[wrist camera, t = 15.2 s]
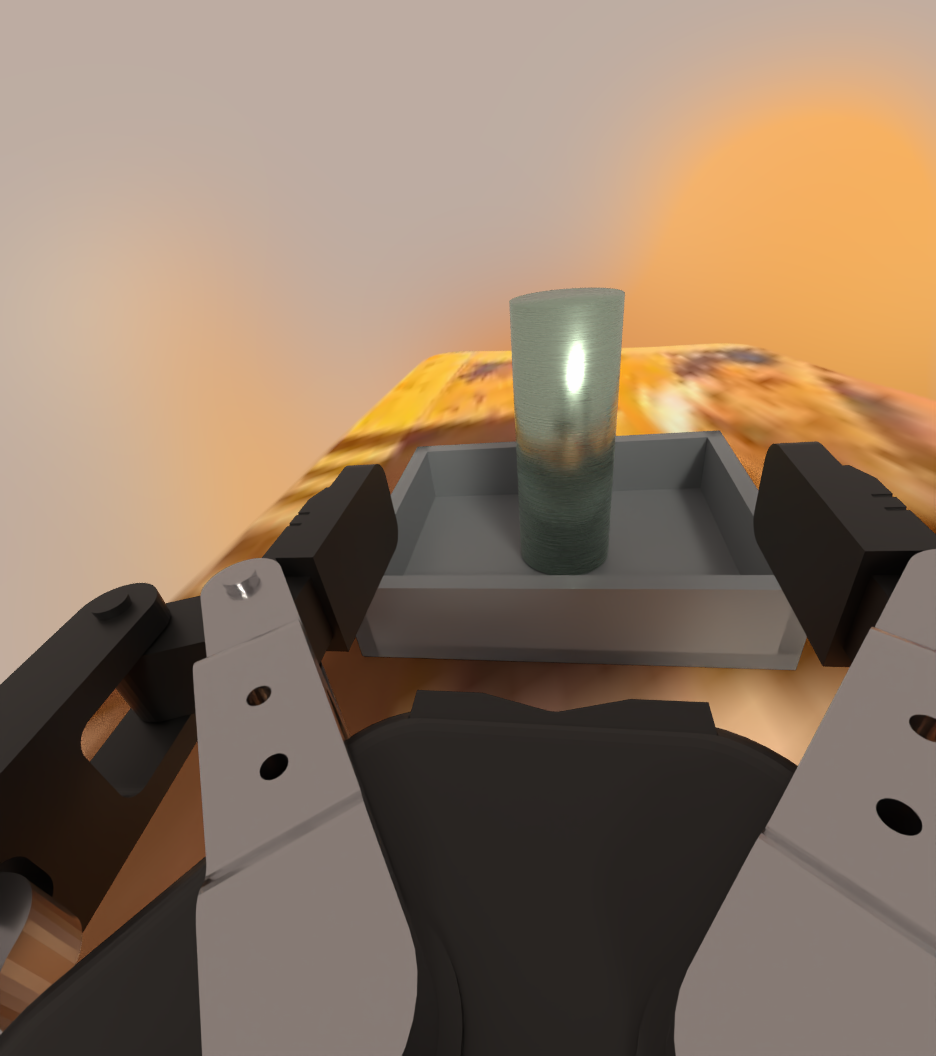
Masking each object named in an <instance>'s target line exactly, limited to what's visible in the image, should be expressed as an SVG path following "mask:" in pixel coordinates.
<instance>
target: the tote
mask: <svg viewBox="0 0 936 1056" xmlns="http://www.w3.org/2000/svg"><path fill="white" fill-rule="evenodd" d="M757 496H758V489H757V488H756V486H755V485H754V483H753V481H752V480H751V478H750V477H749V475H748V474H747V472H746V471H745V469H744V468H743V466H742V464H741V463H740V461H739V460H738V458H737V457H736V455H735V454H734V452H733V450H732V449H731V447H730V446H729V444H728V443H727V441H726V440H725V438H724V437H723V435H722V433H721V432H720V431H703V432H685V433H666V434H648V435H629V436H616V438H615V453H614V469H613V484H612V500H611V515H610V531H609V547H608V556H607V559H606V560H605V562H604V563H603V564H602V565H601V566H599V567H598V568H596V569H595V570H593V571H590V572H588V573H584V574H580V575H551V574H547V573H543V572H541V571H538V570H536V569H534V568H532V567H531V566H529V565H528V564H527V563H526V562H525V560H524V559H523V557H522V554H521V539H520V517H519V496H518V474H517V453H516V442H499V443H481V444H462V445H444V446H425V447H417V449H416V451H415V453H414V454H413V456H412V458H411V460H410V462H409V463H408V465H407V467H406V469H405V471H404V472H403V474H402V476H401V478H400V480H399V481H398V483H397V485H396V487H395V489H394V490H393V492H392V494H391V499H392V503H393V507H394V511H395V515H396V519H397V524H398V543H397V547H396V550H395V552H394V554H393V556H392V558H391V560H390V563H389V565H388V567H387V569H386V571H385V573H384V576H383V578H382V580H381V582H380V584H379V587H378V589H377V591H376V593H375V595H374V597H373V600H372V602H371V604H370V606H369V608H368V610H367V613H366V615H365V617H364V619H363V621H362V623H361V626H360V628H359V630H358V632H357V634H356V638H357V641H358V644H359V647H360V650H361V653H362V655H363V656H375V657H406V658H437V659H468V660H499V661H530V662H561V663H592V664H623V665H654V666H685V667H716V668H747V669H778V670H796V668H797V665H798V662H799V659H800V656H801V653H802V650H803V647H804V644H805V641H806V638H807V636H806V634H805V632H804V630H803V628H802V626H801V625H800V623H799V621H798V619H797V617H796V615H795V613H794V611H793V610H792V608H791V606H790V604H789V602H788V600H787V598H786V597H785V595H784V593H783V591H782V589H781V587H780V585H779V583H778V582H777V580H776V578H775V576H774V574H773V572H772V570H771V569H770V567H769V565H768V563H767V561H766V559H765V557H764V555H763V554H762V552H761V550H760V548H759V546H758V544H757V542H756V539H755V535H754V528H753V518H754V510H755V506H756V501H757Z"/></svg>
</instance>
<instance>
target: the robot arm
mask: <svg viewBox="0 0 936 1056" xmlns="http://www.w3.org/2000/svg"><path fill="white" fill-rule="evenodd" d="M298 514H299V515H296V516H295V517H294V519H293V520H292V521H291V522H290V526H287V527H286V529H285V530H284V531H283V532H282V534H281V535H280V536H279V537H278V538H277V540H276V541H275V542H274V543H273V545H272V546H271V547H270V548H269V550H268V551H267V552H266V553H265V555H264V556H263V557H262V558H255V559H249V560H245V561H242V562H239V563H236V564H234V565H231V566H229V567H227V568H225V569H223V570H222V571H220V572H219V573H217V574H216V575H215V576H213V577H212V578H211V579H210V580H209V581H208V582H207V583H206V584H205V586H204V587H203V589H202V592H201V596H197V597H193V598H188V599H184V600H179V601H175V602H170V603H166V604H165V602H164V600H163V599H162V597H161V596H160V594H159V592H158V591H157V589H156V588H155V587H154V586H153V585H151V584H147V583H135V584H130V585H126V586H122V587H119V588H116V589H113V590H111V591H109V592H106V593H104V594H102V595H101V596H99V597H97V598H95V599H94V600H92V601H91V602H89V603H88V604H86V605H85V606H84V607H83V608H82V609H80V610H79V611H78V612H77V613H76V614H75V615H74V616H73V617H72V618H71V619H70V620H69V621H68V622H66V623H65V624H64V625H63V626H62V627H61V628H60V629H59V630H58V631H57V632H56V633H55V634H54V635H53V636H52V637H51V638H49V639H48V640H47V641H46V642H45V643H44V644H43V645H42V646H41V647H40V648H39V649H38V650H37V651H36V652H35V653H34V654H33V655H31V656H30V657H29V658H28V659H27V660H26V661H25V662H24V663H23V664H22V665H21V666H20V667H19V668H18V669H17V670H16V671H14V673H12V674H11V675H10V676H9V677H8V678H7V679H6V680H5V681H4V682H3V683H2V684H1V685H0V1056H936V534H935V533H934V532H933V531H931V530H930V529H929V528H928V527H927V526H926V525H925V524H924V523H923V522H922V521H921V520H920V519H919V518H918V517H917V516H916V515H915V514H914V513H912V512H911V511H910V510H906V506H905V505H904V504H903V503H902V502H901V501H900V500H899V499H898V498H897V497H892V493H891V492H890V491H889V490H888V489H887V488H886V487H885V486H884V485H883V484H882V483H881V482H880V481H879V480H878V479H876V478H875V477H873V476H871V475H869V474H866V473H864V472H862V471H860V470H858V469H856V468H854V467H852V466H850V465H844V466H842V465H841V464H840V463H839V462H838V461H837V460H836V459H835V458H834V457H833V456H832V455H831V454H830V452H829V451H828V450H827V449H826V448H825V447H824V446H823V445H822V444H820V443H819V442H799V443H780V444H772V445H771V446H770V447H769V449H768V451H767V454H766V457H765V462H764V467H763V472H762V477H761V481H760V486H759V491H758V496H757V501H756V506H755V510H754V518H753V528H754V535H755V539H756V542H757V544H758V546H759V548H760V550H761V552H762V554H763V555H764V557H765V559H766V561H767V563H768V565H769V567H770V569H771V570H772V572H773V574H774V576H775V578H776V580H777V582H778V583H779V585H780V587H781V589H782V591H783V593H784V595H785V597H786V598H787V600H788V602H789V604H790V606H791V608H792V610H793V611H794V613H795V615H796V617H797V619H798V621H799V623H800V625H801V626H802V628H803V630H804V632H805V634H806V636H807V638H808V639H809V641H810V643H811V645H812V647H813V649H814V651H815V653H816V654H817V656H818V658H819V660H820V662H821V664H822V666H829V667H850V668H849V670H848V672H847V674H846V676H845V678H844V680H843V682H842V683H841V685H840V687H839V689H838V691H837V693H836V695H835V697H834V699H833V701H832V702H831V704H830V706H829V708H828V710H827V712H826V714H825V716H824V718H823V720H822V722H821V723H820V725H819V727H818V729H817V731H816V733H815V735H814V737H813V739H812V741H811V743H810V744H809V746H808V748H807V750H806V752H805V754H804V756H803V758H802V760H801V762H800V763H799V765H798V766H797V765H795V764H794V763H793V762H791V761H790V760H788V759H787V758H785V757H783V756H781V755H780V754H778V753H776V752H774V751H773V750H771V749H769V748H767V747H765V746H763V745H761V744H759V743H757V742H755V741H753V740H750V739H748V738H746V737H743V736H741V735H738V734H735V733H732V732H730V731H727V730H723V729H720V728H716V727H715V724H714V721H713V717H712V713H711V710H710V706H709V703H708V702H685V701H662V700H639V699H628V700H623V701H617V702H611V703H606V704H600V705H594V706H589V707H583V708H577V709H572V710H566V711H559V712H552V711H547V710H543V709H539V708H536V707H532V706H528V705H525V704H521V703H518V702H514V701H510V700H507V699H503V698H500V697H496V696H492V695H489V694H485V693H475V692H452V691H429V690H417V693H416V696H415V700H414V703H413V706H412V710H411V712H408V713H403V714H400V715H396V716H393V717H390V718H387V719H384V720H382V721H380V722H377V723H375V724H372V725H371V726H369V727H367V728H365V729H363V730H361V731H359V732H358V733H356V734H355V735H353V736H352V737H350V734H349V732H348V729H347V726H346V724H345V721H344V719H343V716H342V713H341V711H340V708H339V705H338V703H337V700H336V698H335V695H334V692H333V690H332V687H331V685H330V682H329V679H328V677H327V674H326V672H325V669H324V667H323V664H322V662H321V660H322V658H323V656H324V654H325V652H326V651H346V652H349V650H350V647H351V645H352V643H353V641H354V639H355V637H356V634H357V632H358V630H359V628H360V626H361V623H362V621H363V619H364V617H365V615H366V613H367V610H368V608H369V606H370V604H371V602H372V600H373V597H374V595H375V593H376V591H377V589H378V587H379V584H380V582H381V580H382V578H383V576H384V573H385V571H386V569H387V567H388V565H389V563H390V560H391V558H392V556H393V554H394V552H395V550H396V547H397V543H398V524H397V519H396V515H395V511H394V507H393V503H392V499H391V495H390V491H389V487H388V484H387V480H386V476H385V472H384V470H383V468H382V467H381V466H380V465H379V464H373V465H354V466H346V467H345V468H344V469H343V471H342V472H341V473H340V474H339V476H338V477H337V478H336V480H335V481H334V482H333V484H332V485H331V486H330V487H329V488H325V489H324V490H322V491H321V492H319V493H318V494H316V495H315V496H313V497H312V498H310V499H309V500H308V501H307V503H306V504H305V505H304V506H303V507H302V509H301V510H300V511H299V512H298ZM115 688H116V689H117V690H118V692H119V693H120V694H121V696H122V697H123V698H124V699H125V701H126V702H127V703H128V704H129V706H130V707H131V709H130V710H129V711H128V713H127V714H126V715H125V717H124V718H123V719H122V721H121V722H120V723H119V724H118V726H117V727H116V728H115V730H114V731H113V732H112V734H111V735H110V736H109V738H108V739H107V740H106V742H105V743H104V744H103V745H102V747H101V748H100V749H99V751H98V752H97V753H96V755H95V756H94V757H93V759H92V760H91V761H90V762H89V761H88V760H87V759H86V758H85V756H84V755H83V753H82V750H81V736H82V732H83V730H84V728H85V726H86V724H87V722H88V721H89V720H90V718H91V717H92V716H93V715H94V714H95V712H96V711H97V710H98V709H99V707H100V706H101V705H102V704H103V703H104V701H105V700H106V699H107V698H108V697H109V695H110V694H111V693H112V692H113V690H114V689H115ZM197 740H198V752H199V766H200V780H201V794H202V808H203V822H204V836H205V850H206V857H204V858H203V859H202V860H201V861H200V862H198V863H197V864H196V865H195V866H194V867H192V868H191V869H190V870H189V871H188V872H186V873H185V874H184V875H183V876H182V877H180V878H179V879H178V880H177V881H176V882H174V883H173V884H172V885H171V886H170V887H168V888H167V889H166V890H165V891H164V892H162V893H161V894H160V895H159V896H158V897H156V898H155V899H154V900H153V901H152V902H150V903H149V904H148V905H147V906H146V907H144V908H143V909H142V910H141V911H140V912H138V913H137V914H136V915H135V916H134V917H132V918H131V919H130V920H129V921H128V922H126V923H125V924H124V925H123V926H122V927H120V928H119V929H118V930H117V931H116V932H114V933H113V934H112V935H111V936H110V937H108V938H107V939H106V940H105V941H104V942H102V943H101V944H100V945H99V946H98V947H96V948H95V949H94V950H93V951H92V952H90V953H89V954H88V955H87V956H86V957H84V958H83V959H82V960H81V961H80V962H78V963H77V964H76V962H77V959H78V956H79V953H80V949H81V944H82V933H83V931H84V930H85V928H86V926H87V925H88V923H89V921H90V920H91V918H92V916H93V915H94V913H95V911H96V910H97V908H98V906H99V905H100V903H101V901H102V900H103V898H104V896H105V895H106V893H107V891H108V890H109V888H110V886H111V885H112V883H113V881H114V879H115V878H116V876H117V874H118V873H119V871H120V869H121V868H122V866H123V864H124V863H125V861H126V859H127V858H128V856H129V854H130V853H131V851H132V849H133V848H134V846H135V844H136V843H137V841H138V839H139V838H140V836H141V834H142V833H143V831H144V829H145V828H146V826H147V824H148V823H149V821H150V819H151V817H152V816H153V814H154V812H155V811H156V809H157V807H158V806H159V804H160V802H161V801H162V799H163V797H164V796H165V794H166V792H167V791H168V789H169V787H170V786H171V784H172V782H173V781H174V779H175V777H176V776H177V774H178V772H179V771H180V769H181V767H182V766H183V764H184V762H185V761H186V759H187V757H188V755H189V754H190V752H191V750H192V749H193V747H194V745H195V744H196V742H197Z"/></svg>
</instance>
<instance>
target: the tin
mask: <svg viewBox="0 0 936 1056" xmlns="http://www.w3.org/2000/svg"><path fill="white" fill-rule="evenodd" d="M624 297H625V292H623V291H622V290H618V289H610V288H572V289H560V290H550V291H543V292H537V293H531V294H526V295H523V296H519V297H516V298H514V299H512V300H510V322H511V345H512V367H513V388H514V410H515V431H516V453H517V474H518V496H519V517H520V539H521V554H522V557H523V559H524V560H525V562H526V563H527V564H528V565H529V566H531V567H532V568H534V569H536V570H538V571H541V572H543V573H547V574H551V575H580V574H584V573H588V572H590V571H593V570H595V569H596V568H598V567H599V566H601V565H602V564H603V563H604V562H605V560H606V559H607V556H608V547H609V531H610V515H611V500H612V484H613V469H614V453H615V438H616V422H617V407H618V391H619V376H620V360H621V344H622V329H623V328H622V327H623V313H624Z"/></svg>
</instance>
